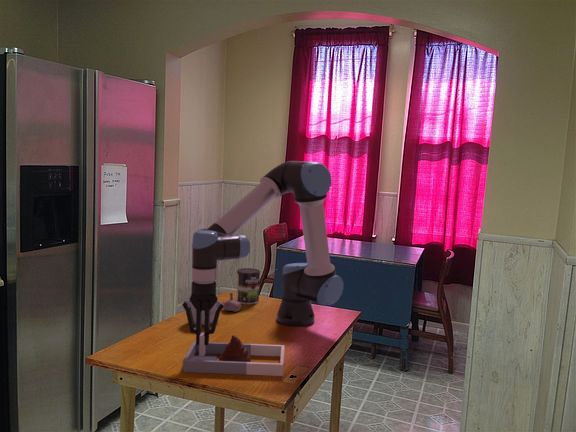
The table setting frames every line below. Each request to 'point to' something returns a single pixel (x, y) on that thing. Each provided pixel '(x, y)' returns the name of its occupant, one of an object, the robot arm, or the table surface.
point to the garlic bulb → (232, 304)
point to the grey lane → (212, 360)
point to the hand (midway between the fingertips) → (202, 354)
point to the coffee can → (248, 286)
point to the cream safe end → (266, 368)
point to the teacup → (212, 314)
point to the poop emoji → (235, 351)
